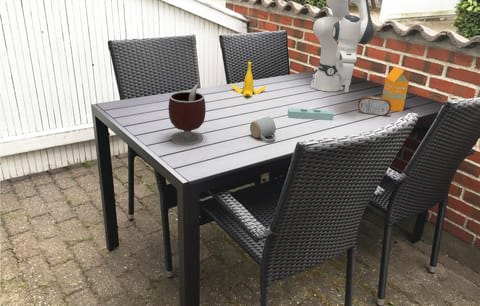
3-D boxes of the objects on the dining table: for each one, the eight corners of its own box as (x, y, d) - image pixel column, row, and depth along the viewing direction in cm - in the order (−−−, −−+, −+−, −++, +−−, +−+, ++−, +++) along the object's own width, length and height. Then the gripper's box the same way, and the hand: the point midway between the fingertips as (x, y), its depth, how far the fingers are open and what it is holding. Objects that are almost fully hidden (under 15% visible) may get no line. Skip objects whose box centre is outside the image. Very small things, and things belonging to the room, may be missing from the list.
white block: (331, 91, 195) (333, 75, 191) (330, 89, 197) (333, 74, 193) (348, 92, 195) (351, 76, 191) (347, 91, 196) (350, 75, 193)
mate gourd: (194, 148, 155) (194, 96, 147) (162, 141, 160) (160, 90, 152) (213, 134, 168) (214, 86, 160) (183, 128, 173) (182, 81, 165)
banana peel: (246, 99, 213) (248, 67, 206) (230, 89, 228) (231, 58, 221) (274, 96, 220) (277, 64, 213) (256, 87, 235) (258, 57, 228)
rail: (287, 114, 195) (288, 107, 194) (330, 116, 194) (331, 110, 193) (288, 117, 190) (288, 111, 189) (332, 120, 190) (333, 113, 189)
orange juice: (394, 105, 214) (402, 66, 206) (403, 110, 206) (411, 70, 198) (380, 105, 213) (387, 66, 205) (388, 111, 205) (396, 70, 197)
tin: (389, 115, 199) (392, 98, 196) (389, 117, 197) (392, 100, 193) (356, 111, 203) (359, 94, 200) (356, 112, 201) (359, 96, 197)
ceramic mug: (248, 135, 170) (249, 117, 166) (264, 131, 174) (265, 114, 170) (263, 144, 162) (265, 126, 158) (280, 140, 166) (282, 122, 163)
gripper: (335, 48, 197) (330, 76, 203) (342, 58, 179) (337, 89, 185) (348, 49, 197) (343, 77, 203) (357, 59, 179) (351, 91, 185)
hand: (340, 83), depth 194 cm, fingers closed on white block, 2 cm apart
